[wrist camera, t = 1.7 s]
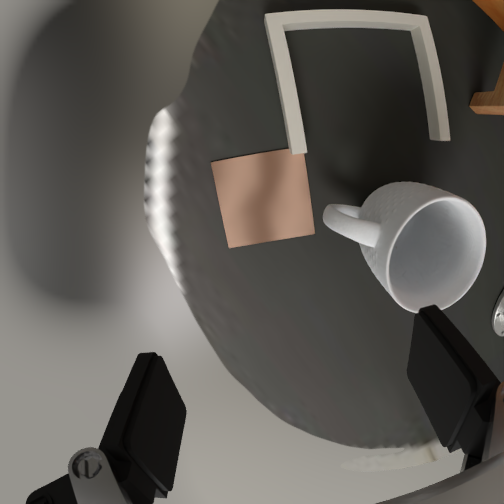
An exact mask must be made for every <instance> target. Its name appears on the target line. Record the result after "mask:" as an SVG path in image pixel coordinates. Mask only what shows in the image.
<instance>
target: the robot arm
mask: <svg viewBox="0 0 504 504" xmlns="http://www.w3.org/2000/svg"><path fill="white" fill-rule="evenodd" d="M492 327H493V330H494V331H495V332H496V333H497V334H498V335H499V336H504V290H503V291H502V293H501V295H500V296H499V298H498V300H497V302H496V305H495V307H494V311H493V315H492ZM407 375H408V378H409V380H410V382H411V384H412V386H413V388H414V390H415V392H416V394H417V396H418V398H419V400H420V402H421V404H422V406H423V408H424V410H425V412H426V414H427V416H428V418H429V420H430V422H431V424H432V426H433V428H434V430H435V432H436V434H437V436H438V438H439V440H440V443H441V444H442V446H443V447H446V446H447V448H448V450H449V452H450V453H451V452H453V451H455V450H458V449H460V448H462V450H463V452H464V453H465V455H464V459H463V463H462V467H461V471H460V473H459V474H456V475H454V476H452V477H449V478H447V479H445V480H443V481H440V482H438V483H435V484H433V485H430V486H428V487H425V488H422V489H420V490H417V491H414V492H412V493H409V494H405V495H402V496H399V497H396V498H393V499H390V500H386V501H383V502H380V503H376V504H504V381H503V382H502V383H500V381H499V380H498V379H497V377H496V376H495V375H494V374H493V372H492V371H491V370H490V368H489V367H488V366H487V364H486V363H485V362H484V361H483V359H482V358H481V357H480V356H479V354H478V353H477V352H476V351H475V349H474V348H473V347H472V346H471V344H470V343H469V342H468V341H467V340H466V338H465V337H464V336H463V335H462V334H461V333H460V332H459V330H458V329H457V328H456V327H455V326H454V324H453V323H452V322H451V321H450V320H449V319H448V318H447V316H446V315H445V314H444V313H443V312H442V311H441V310H440V308H439V307H438V306H437V305H434V304H433V305H430V306H426V307H422V308H420V309H419V312H418V313H416V314H415V317H414V326H413V334H412V341H411V348H410V354H409V361H408V366H407ZM185 418H186V407H185V404H184V402H183V400H182V399H181V396H180V395H179V392H178V390H177V388H176V386H175V384H174V382H173V380H172V377H171V375H170V373H169V371H168V369H167V366H166V364H165V362H164V360H163V358H162V357H161V356H158V355H157V354H156V353H155V352H150V353H140V354H138V356H137V358H136V361H135V363H134V365H133V367H132V370H131V372H130V374H129V377H128V379H127V381H126V384H125V386H124V388H123V391H122V392H121V394H120V396H119V398H118V400H117V403H116V405H115V408H114V410H113V413H112V415H111V417H110V420H109V422H108V425H107V428H106V430H105V432H104V435H103V438H102V440H101V443H100V445H99V448H98V449H96V448H93V447H89V448H84V449H81V450H79V451H78V452H76V453H75V454H74V455H73V456H72V457H71V459H70V461H69V464H68V472H69V473H68V474H66V475H64V476H63V477H61V478H59V479H57V480H55V481H53V482H51V483H49V484H47V485H45V486H43V487H41V488H39V489H37V490H35V491H34V492H33V493H31V494H30V495H29V497H28V498H27V501H26V504H153V502H154V497H158V498H167V494H168V491H171V490H172V488H173V484H174V477H175V472H176V466H177V461H178V456H179V450H180V445H181V440H182V434H183V429H184V424H185Z"/></svg>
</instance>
